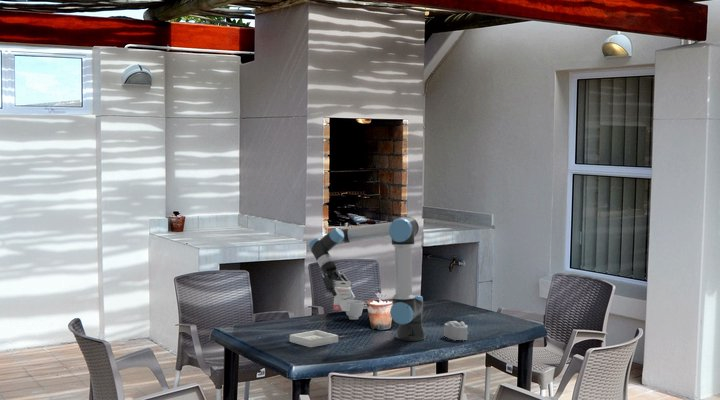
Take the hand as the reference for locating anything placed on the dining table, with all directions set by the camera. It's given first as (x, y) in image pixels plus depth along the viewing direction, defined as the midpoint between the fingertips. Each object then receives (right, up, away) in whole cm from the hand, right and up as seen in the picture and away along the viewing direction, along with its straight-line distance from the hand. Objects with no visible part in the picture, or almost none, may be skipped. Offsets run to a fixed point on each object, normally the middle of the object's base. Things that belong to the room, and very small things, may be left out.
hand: (346, 299), depth 459 cm
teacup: (+2, -18, +60) cm, 63 cm away
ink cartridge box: (-2, -6, +3) cm, 7 cm away
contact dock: (-17, -21, -2) cm, 27 cm away
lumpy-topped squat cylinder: (+58, -23, +18) cm, 65 cm away
